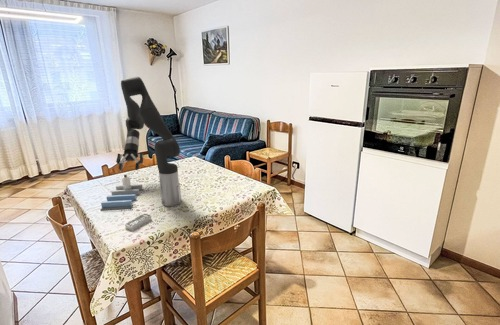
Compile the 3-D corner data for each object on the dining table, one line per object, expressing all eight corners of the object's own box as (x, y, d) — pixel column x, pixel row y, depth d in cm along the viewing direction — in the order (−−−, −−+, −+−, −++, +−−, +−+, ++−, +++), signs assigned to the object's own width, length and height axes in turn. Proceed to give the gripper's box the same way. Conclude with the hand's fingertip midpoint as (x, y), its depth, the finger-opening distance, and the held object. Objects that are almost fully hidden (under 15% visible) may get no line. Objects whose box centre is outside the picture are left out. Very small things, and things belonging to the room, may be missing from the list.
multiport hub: (125, 229, 116) (124, 224, 115) (144, 217, 125) (143, 213, 125) (132, 231, 114) (131, 226, 113) (151, 219, 124) (151, 215, 123)
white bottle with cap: (132, 190, 153) (130, 173, 150) (130, 193, 149) (128, 176, 146) (125, 190, 152) (122, 173, 149) (123, 193, 149) (120, 176, 145)
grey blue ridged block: (143, 188, 157) (142, 183, 156) (130, 209, 133) (129, 202, 132) (118, 190, 156) (117, 184, 155) (100, 210, 131) (99, 204, 130)
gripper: (117, 142, 157) (113, 167, 149) (142, 142, 158) (139, 166, 151) (121, 149, 163) (117, 173, 156) (145, 148, 165) (143, 172, 158)
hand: (128, 169), depth 153 cm, fingers open, 8 cm apart
